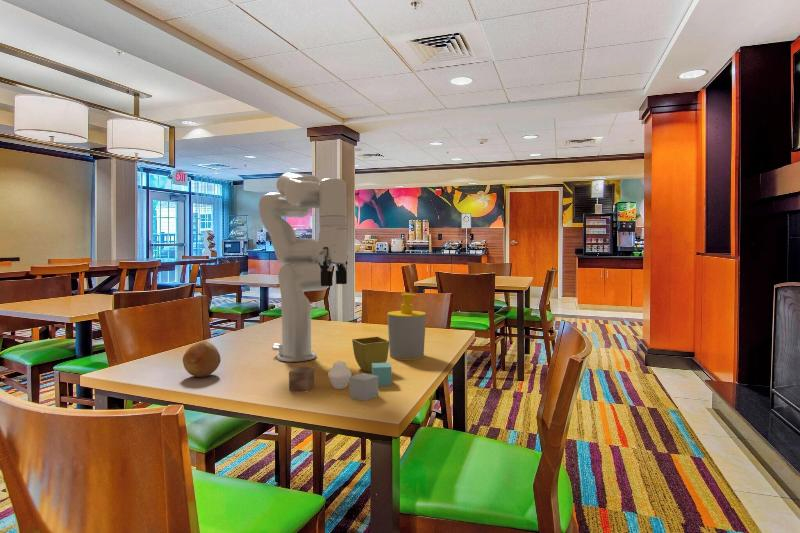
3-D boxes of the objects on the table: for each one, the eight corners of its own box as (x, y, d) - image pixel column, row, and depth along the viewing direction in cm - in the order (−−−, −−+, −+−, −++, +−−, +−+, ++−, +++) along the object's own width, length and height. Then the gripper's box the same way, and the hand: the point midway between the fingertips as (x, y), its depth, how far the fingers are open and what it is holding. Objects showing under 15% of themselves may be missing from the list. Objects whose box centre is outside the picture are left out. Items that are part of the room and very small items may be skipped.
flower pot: (362, 374, 134) (362, 344, 133) (351, 368, 141) (351, 338, 141) (390, 371, 138) (390, 341, 137) (377, 364, 145) (377, 336, 145)
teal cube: (372, 386, 123) (372, 367, 123) (371, 381, 128) (371, 363, 128) (391, 385, 123) (391, 367, 123) (389, 380, 128) (389, 362, 128)
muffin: (356, 386, 123) (356, 360, 122) (341, 392, 118) (341, 364, 117) (338, 382, 126) (338, 357, 126) (323, 388, 121) (322, 361, 121)
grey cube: (349, 397, 114) (349, 377, 113) (362, 392, 118) (362, 372, 118) (365, 401, 111) (365, 380, 111) (378, 395, 115) (378, 375, 115)
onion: (183, 373, 135) (182, 339, 134) (220, 370, 139) (219, 337, 138) (182, 382, 126) (181, 346, 125) (221, 378, 130) (220, 343, 129)
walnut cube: (289, 391, 119) (288, 371, 119) (296, 385, 124) (296, 366, 124) (307, 392, 118) (307, 372, 118) (314, 386, 123) (314, 367, 123)
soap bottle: (426, 360, 150) (426, 295, 149) (386, 360, 150) (386, 295, 150) (425, 351, 163) (425, 292, 162) (388, 351, 164) (388, 291, 163)
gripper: (333, 226, 139) (334, 283, 139) (306, 222, 122) (307, 286, 122) (357, 225, 136) (358, 283, 137) (332, 220, 120) (333, 287, 120)
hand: (334, 284), depth 129 cm, fingers open, 9 cm apart
